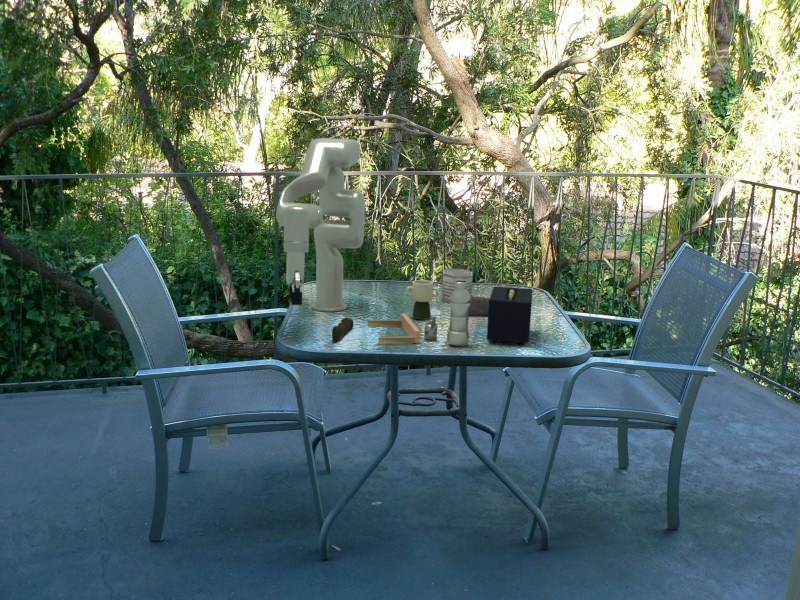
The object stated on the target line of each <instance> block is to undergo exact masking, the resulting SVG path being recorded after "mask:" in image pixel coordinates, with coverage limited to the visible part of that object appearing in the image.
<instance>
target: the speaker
mask: <svg viewBox="0 0 800 600" xmlns="http://www.w3.org/2000/svg"><path fill="white" fill-rule="evenodd" d="M533 293H534V292H533V289H532V288H522V287H521V288H520V287H506V286H494V287H492V290H491V294H490V297H489V298H490V299H489V309H488V316H487V327H486V328H487V329H486V340H487V341H491V343H493V344H497V343H498V342H506V343H507V342H509V343H518V345H519V346H524V345H525V344H528V343H529V342H530V332H531V331H530V330H531V322H532V321H531V318H532V317H531V316H532V305H533V304H532V302H533Z"/></svg>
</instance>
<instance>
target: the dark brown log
mask: <svg viewBox="0 0 800 600" xmlns="http://www.w3.org/2000/svg"><path fill="white" fill-rule="evenodd" d="M340 321H341V322H338V324H337V325H334V326H333V327H332V331H331V337H332V343H338V342H339V341H341V340H342V337H343V336H345V335H346V333H347V332H348V331H350V330H352V329H354V320H353V319H352V318H349V317H344V318H342V319H341V320H340Z"/></svg>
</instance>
